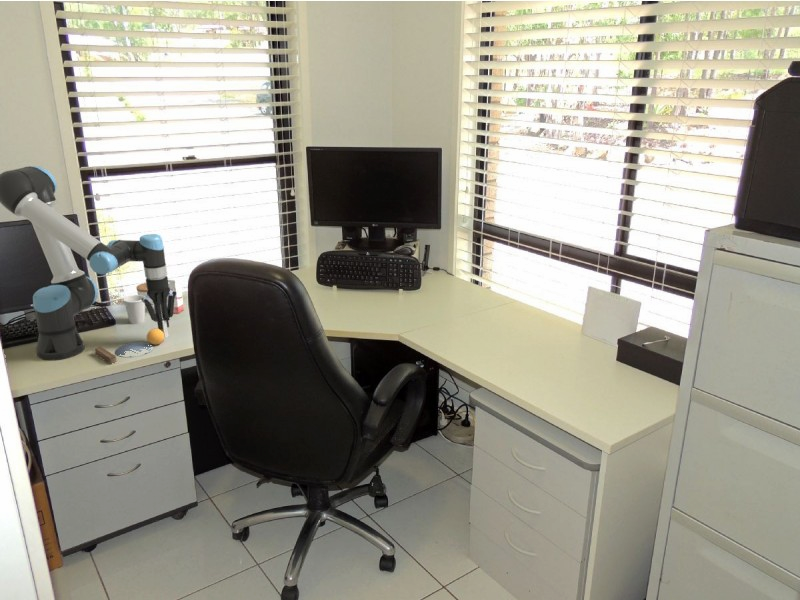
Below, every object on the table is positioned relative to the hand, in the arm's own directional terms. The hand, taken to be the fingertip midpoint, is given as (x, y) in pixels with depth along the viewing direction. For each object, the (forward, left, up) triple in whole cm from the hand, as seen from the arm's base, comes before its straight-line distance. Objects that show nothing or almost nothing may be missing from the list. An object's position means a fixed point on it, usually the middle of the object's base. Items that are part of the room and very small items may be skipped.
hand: (164, 336), depth 234 cm
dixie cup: (+2, +26, -2) cm, 27 cm away
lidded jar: (+17, +43, -2) cm, 47 cm away
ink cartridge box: (+18, +27, -2) cm, 33 cm away
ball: (-4, 0, +1) cm, 4 cm away
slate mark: (-12, 0, -2) cm, 12 cm away
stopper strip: (-22, 0, -2) cm, 22 cm away
